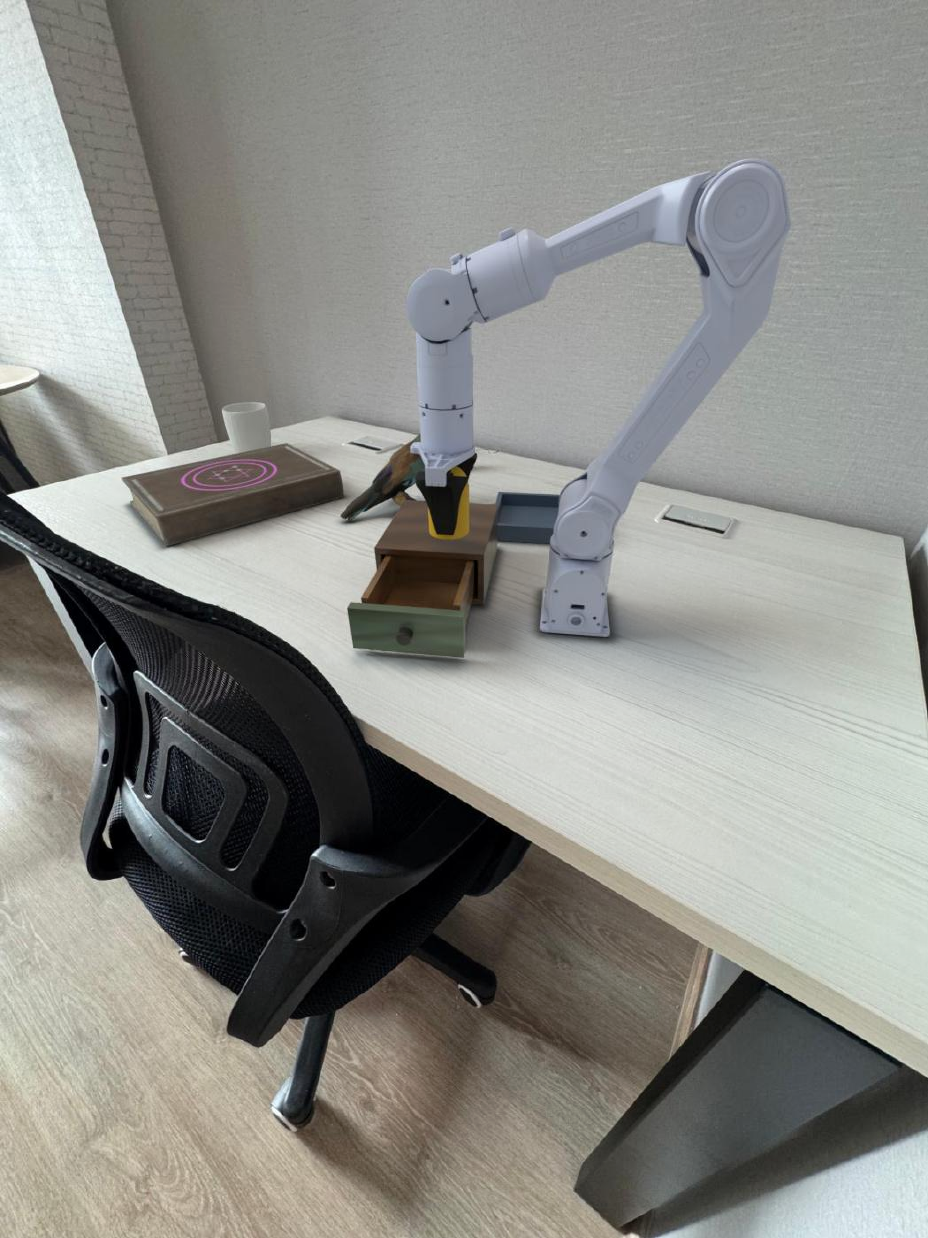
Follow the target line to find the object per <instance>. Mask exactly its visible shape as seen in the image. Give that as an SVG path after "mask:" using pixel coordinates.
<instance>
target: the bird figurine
mask: <svg viewBox="0 0 928 1238" xmlns="http://www.w3.org/2000/svg"><path fill="white" fill-rule="evenodd" d="M415 442H421V435H420V433H419V434H417V436H415V437H414V438H413V439H412V440H411V441H409V442H408V443H406V444H404V445H403V446H401V447H400V448H398V449H399V450H398V449H397V450H398V451H397V450H396V451H397V452H396V453H395V454H394V456H393V457H392V458H391V460H390V459H389V461H388V463H386V464H385V466H383V467H382V469H380V471H379V472H378V473H377V474H376V476H375V477H374V479H373V480H372V482H371V483H372V484H371V485H370V486H369V487H368V488H367V489H365V491H364V492H362V493H361V494H360V495H359V496H357V497H355V498H354V499H353V500H352V501H351V502H350V503H349V504H348V505H347V506H346V508H345V509H344V510H343V511H342V512H341V513H340V515H339V517H340V518H341V519H344V520H346V522H347V523H348V522H351V521H353V520H354V519H355V518H356V517H357V516H359V515H361V514H362V513H366V512H368V511H369V510H371V509H373V508H374V507H376V506H378V505H380V504H383V503H385V502H386V501H389V500H392V501H394V503H395V504H396V505H398V506H401V505H402V504H403V502H404V501H405V500H416V499H415V498H414V497H412V496H411V495H409V493H408V492H406V490H408V489H409V488H411V487H413V486H414V485H416V482H415V476H416V475H417V473H418V472H425V464H424V462H423V460H422V458H421V456H420V454H414V453H411V449H410V446H411V445H412V444H413V443H415Z"/></svg>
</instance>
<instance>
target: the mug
mask: <svg viewBox="0 0 928 1238" xmlns="http://www.w3.org/2000/svg"><path fill="white" fill-rule="evenodd" d="M221 412H222V414H221V415H222V418H223V421H224V426H225V429H226V433H227V436H228V439H229V441H230V443H231V445H232V448H233V449H234V452H235V454H237V453H241V452H246V451H251V450H256V449H261V448H265V447H270V446H272V431H271V430H272V429H271V423H270V417H269V412H268V409H267V406H266V404H265V403H262V402H256V401H255V402H254V401H251V402H238V403H232V404H231V403H230V404H228V405H225V406H223V407H222V408H221Z"/></svg>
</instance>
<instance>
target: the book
mask: <svg viewBox="0 0 928 1238" xmlns="http://www.w3.org/2000/svg"><path fill="white" fill-rule="evenodd" d="M121 480H122V482H123V484H125V486H126V487H127V488H128V489H129V491H130V494H131V498H132V500H130V501H129V503H130V505H131V506H132V507H133V509H134V510H135V511H136V513H138V514H139V516H140V517H141V518H142V519H143V520H144V522H145V523H146V524H147V525H148V526H149V528H150V529H151V530H152V531H153V532H154V533H155V535H156V536H157V537H158V538H159V539H160V541H161V542H162V543H163V544H164V546H165V547H168V546H174V545H176V544H179V543H184V542H187V541H190V540H194V539H197V538H198V539H199V538H201V537H205V536H208V535H212V534H215V533H216V534H217V533H219V532H223V531H227V530H230V529H235V528H237V527H240V526H241V527H242V526H244V525H249V524H251V523H255V522H259V521H263V520H265V519H269V518H273V517H277V516H281V515H284V514H287V513H292V512H294V511H298V510H302V509H306V508H309V507H313V506H316V505H320V504H323V503H327V502H331V501H334V500H338V499H342V498H344V491H345V490H344V483H343V477H342V474H341V470H340V469H338V468H337V467H334V466H332V465H330V464H328V463H326V462H325V461H322V460H321V459H319V458H317V457H315V456H313V455H311V454H310V453H307V452H305V451H303V450H301V449H300V448H297V447H296V446H294V445H292V444H290V443H288V442H284V443H279V444H275V445H271V446H270V447H265V448H261V449H256V450H251V451H246V452H241V453H232V454H227V455H224V456H218V457H213V458H209V459H204V460H199V461H195V462H190V463H185V464H180V465H175V466H171V467H166V468H160V469H156V470H152V471H147V472H141V473H136V474H133V475H127V476H123V477H121Z"/></svg>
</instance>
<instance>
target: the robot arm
mask: <svg viewBox="0 0 928 1238" xmlns="http://www.w3.org/2000/svg"><path fill="white" fill-rule="evenodd" d="M711 173H712V170H708V171H704V172H700V173H696V174H691V175H689V176H685V177H682V178H678V179H676V180H672V181H669V182H666V183H662V184H659V185H657V186H653V187H652V188H649V189H647V190H645V191H643V192H642V193H639V194H637V195H635V196H633V197H631V198H628V199H627V200H625V201H622V202H621V203H619V204H616V205H614V206H612V207H610V208H608V209H606V210H603V211H601V212H600V213H597V214H596V215H593V216H591V217H589V218H587V219H585V220H583V221H580V222H578V223H576V224H574V225H572V226H570V227H568V228H566V229H564V230H562V231H560V232H558V233H556V234H554V235H551V236H550V237H548V238H546V237H544V236H542V235H540V234H538V233H536V232H535V231H533V230H532V229H529V228H524V229H522V230H520V231H518V232H516V229H515V228H514V227H513V226H509V227H508V228H505V229H503V230H501V231H500V232H498V238H499V240H498V241H496V242H493V243H492V244H489V245H488V246H484V247H482V248H481V249H479V250H477V251H474V252H472V253H469V254H468V255H466V256H464V255H463V253H462V252H458V253H456V254H454V255H452V256H450V257H449V260H450V261H449V262H450V264H451V266H450V268H440V267H432V268H431V267H430V268H428V269H427V270H426V271H425V273H422V274H421V275H420V276H418V277H417V278H416V279H415V280H414V282H413V283H412V284H411V286H410V287H409V290H408V292H407V296H406V300H405V301H406V302H405V306H406V307H405V309H406V315H407V319H408V321H409V323H410V326H411V327H412V328H413V330H414V331H415V346H416V347H415V349H416V357H415V359H416V360H415V361H416V363H415V364H416V380H417V381H416V382H417V397H418V398H417V399H418V417H419V432H420V433H419V434H420V435H421V442H415V443H413V444H412V445H411V446H410V449H411V453H414V454H420V456H421V458H422V460H423V462H424V464H425V472H418V473H417V475H416V476H415V482H416V483H415V486H416V488H417V489H418V491H419V492H420V493H421V495H422V497H423V499H424V501H426V503H427V505H428V508H429V511H430V515H431V519H432V522H433V526H434V529H435V532H436V534H437V535H454V533H455V530H456V526H457V520H458V512H459V505H460V500H461V496H462V493H463V490H464V488H465V486H466V484H467V482H468V483H469V479H470V476H471V473H472V470H473V468H474V465H475V464H476V462H477V460H478V453H477V452H476V451H475V450H476V444H475V443H474V356H473V351H472V349H473V348H472V345H473V344H472V327H471V326H472V325H473V324H474V322H475V323H478V324H482V325H483V324H486V323H487V324H488V323H489V322H492V321H494V320H496V319H499V318H501V317H504V316H506V315H508V314H511V313H514V312H516V311H519V310H521V309H524V308H527V307H529V306H530V305H534V304H536V303H538V302H541V301H543V300H545V299H546V298H547V296H548V295H549V292H550V290H551V287H552V285H553V283H554V281H555V279H556V278H557V277H558V276H561V275H563V274H566V273H568V272H571V271H574V270H577V269H580V268H582V267H585V266H587V265H589V264H592V263H595V262H597V261H600V260H603V259H606V258H608V257H611V256H613V255H616V254H619V253H621V252H623V251H626V250H629V249H631V248H634V247H636V246H639V245H641V244H642V245H643V244H645V243H652V244H657V245H658V244H659V245H666V246H667V245H668V246H675V247H676V246H677V247H685V246H687V248H688V250H689V252H690V255H691V256H692V258H693V260H694V262H695V264H696V266H697V269H698V271H699V275H698V277H699V284H700V290H701V291H700V292H701V298H702V299H701V300H702V306H703V307H702V311H701V312H700V314H699V316H698V317H697V318H696V320H695V321H694V323H693V324H692V326H690V328H689V330H688V331H687V332H686V334H685V335H684V337H683V338H682V340H681V341H680V342H679V344H678V345H677V347H676V348H675V349H674V350H673V352H672V353H671V354H670V357H669V358H668V359H667V361H666V362H665V363H664V365H663V366H662V368H661V369H660V370H659V372H658V373H657V375H656V376H655V378H654V379H653V381H652V382H651V383H650V385H649V386H648V387H647V388H646V391H645V392H644V393H643V395H642V396H641V398H639V400H638V402H637V403H636V405H635V406H634V407H633V409H632V410H631V412H630V413H629V414H628V416H627V418H626V419H625V420H624V421H623V423H622V424H621V426H620V427H619V429H618V430H617V432H616V433H615V434H614V436H613V437H612V438H611V440H610V442H608V444H607V446H606V447H605V448H604V450H603V451H602V453H601V454H600V455H599V456H597V457H596V458H594V459H593V460H592V461H591V462H590V463H589V464H588V466H587V467H586V468H585V470H584V471H583V472H582V473H581V474H580V475H578V476H577V477H574V478H572V479H571V480H570V481H568V482H567V483H566V484H565V485H564V486H563V487H562V489H561V491H560V493H559V495H560V496H559V509H558V515H557V520H556V522H555V525H554V531H553V533H554V534H553V535H552V536H551V538H550V544H549V549H548V550H549V551H548V562H547V575H546V587H545V588H543V589H542V595H541V596H542V597H541V606H540V607H541V610H540V622H539V631H540V632H542V633H552V634H564V635H577V636H589V637H603V638H607V637H609V636H610V634H611V629H610V621H609V620H610V619H609V610H608V599H607V594H608V588H609V581H610V575H611V570H612V569H611V568H612V563H613V562H612V561H613V555H614V548H615V539H614V538H615V534H616V533H615V532H616V527H617V526H618V523H619V521H620V520H621V518H623V516H624V515H625V513H626V512H627V509H628V507H629V505H630V502H631V500H632V497H633V495H634V493H635V490H636V488H637V486H638V484H639V483H641V481H642V479H643V478H644V477H645V476H646V475H647V473H648V472H649V471H650V469H651V468H652V467H653V466H654V464H655V463H656V462H657V460H658V459H659V458H660V456H662V454H663V453H664V451H665V450H666V449H667V448H668V446H669V445H670V444H671V442H672V441H673V440H674V439H675V437H676V436H677V435H678V433H679V432H680V431H681V430H682V428H683V427H684V426H685V424H686V423H687V422H688V420H689V419H690V418H691V417H692V416H693V414H694V413H695V412H696V410H697V409H698V408H699V407H700V405H701V404H702V403H703V401H704V400H705V399H706V397H707V396H708V395H709V394H710V392H711V391H712V390H713V389H714V387H715V386H716V385H717V384H718V382H719V381H720V380H721V378H722V377H723V376H724V374H725V373H726V372H727V371H728V369H729V368H730V366H731V365H732V364H733V363H734V361H735V360H736V359H737V358H738V357H739V355H740V354H741V353H742V352H743V350H744V349H745V348H746V346H747V345H748V343H750V341H751V340H752V338H753V337H754V336H755V334H756V333H757V332H758V330H760V329H761V327H762V325H764V322H765V321H766V319H767V317H768V315H769V312H770V308H771V303H772V298H773V294H774V288H775V284H776V280H777V275H778V271H779V266H780V261H781V255H782V251H783V248H784V245H785V242H786V240H787V237H788V235H789V233H790V232H791V231H790V230H791V228H792V220H791V214H790V208H789V201H788V194H787V188H786V184H785V181H784V178H783V175H782V174H781V173H780V171H779V169H778V168H777V167H776V166H775V165H774V164H772V163H770V162H769V161H766V160H764V159H761V158H755V157H754V158H744V159H739V160H738V161H734V162H732V163H730V164H729V165H727V166H725V167H724V168H723V169H721V170H720V171H718V172H716V173H714V174H712V175H711ZM709 175H710V176H709ZM455 466H457V467H459V468H460V469H461V470H462V471H463V472H464V473H465V474H466V476H453V473H451V469H452V468H454V467H455Z"/></svg>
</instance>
